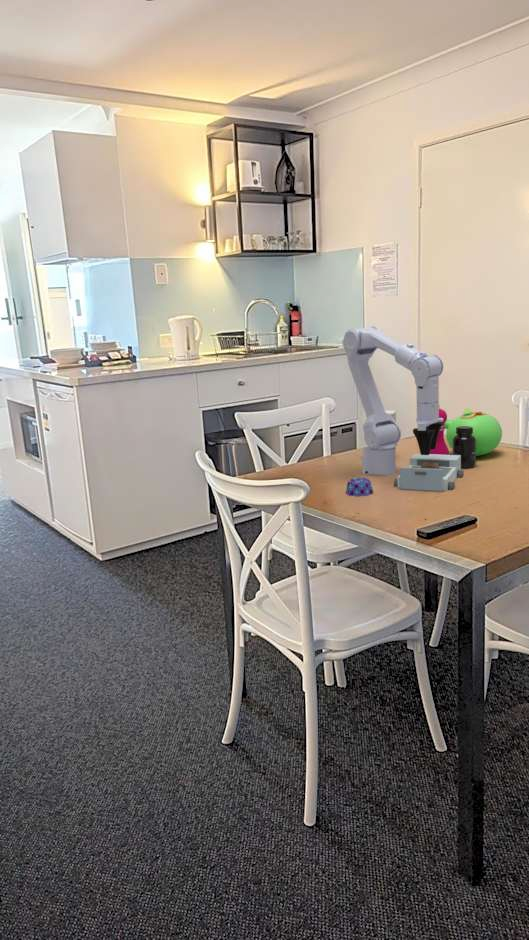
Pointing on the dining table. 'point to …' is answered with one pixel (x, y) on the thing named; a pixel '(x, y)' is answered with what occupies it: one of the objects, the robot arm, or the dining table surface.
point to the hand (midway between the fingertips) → (428, 451)
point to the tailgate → (421, 479)
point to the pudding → (359, 487)
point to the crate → (430, 465)
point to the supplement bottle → (465, 446)
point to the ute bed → (446, 462)
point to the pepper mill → (441, 437)
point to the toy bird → (477, 430)
